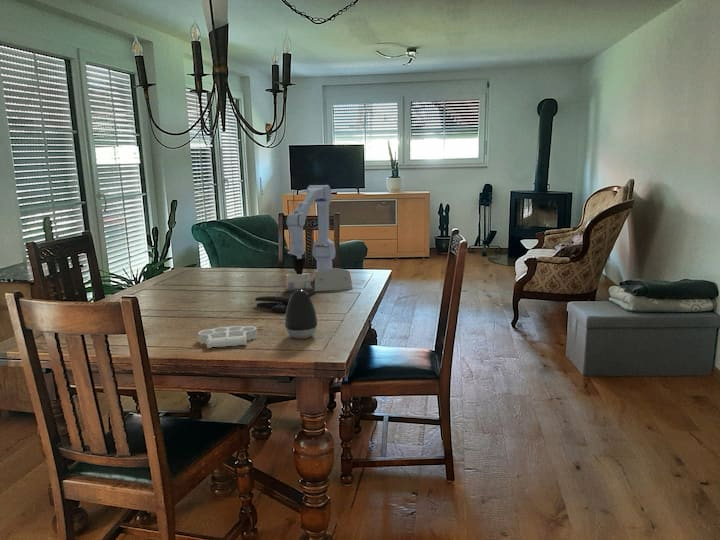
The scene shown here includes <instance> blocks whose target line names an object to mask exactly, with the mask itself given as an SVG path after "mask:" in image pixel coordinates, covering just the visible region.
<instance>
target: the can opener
mask: <svg viewBox="0 0 720 540" xmlns="http://www.w3.org/2000/svg"><path fill="white" fill-rule="evenodd" d="M289 300H290V298H289V297H284V296H278V295H275V296H273V295H270V296H269V295H267V296H258V297H255V302H258V303H257V304H256V307H258V306H260V307H259V308H271V309H270V310H271V312H273V311H274V312H273V313H277V312H281V313H283V312H286V310H287V306H288V302H289Z"/></svg>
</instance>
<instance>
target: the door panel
mask: <svg viewBox="0 0 720 540" xmlns="http://www.w3.org/2000/svg"><path fill="white" fill-rule="evenodd" d="M285 275H286V287H287V289H289V282H294V289H297V288H305V281H310V287H311V286H312V284H311V273H310V272H302V274H298V275H297V273H288V274H285Z"/></svg>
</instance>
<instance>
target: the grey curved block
mask: <svg viewBox="0 0 720 540" xmlns="http://www.w3.org/2000/svg"><path fill="white" fill-rule="evenodd" d="M313 287H314V288H313V290H314V291H316V292H322V291H323V292H325V291H328V290H329V291H343V290H342V289H348V290H353V280H352V277H351V272H350V270H349V269H344V268H338V267H332V268H328V269H324V270H321V271H318V272H317V271H316V272H315V274H314V286H313Z"/></svg>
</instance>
